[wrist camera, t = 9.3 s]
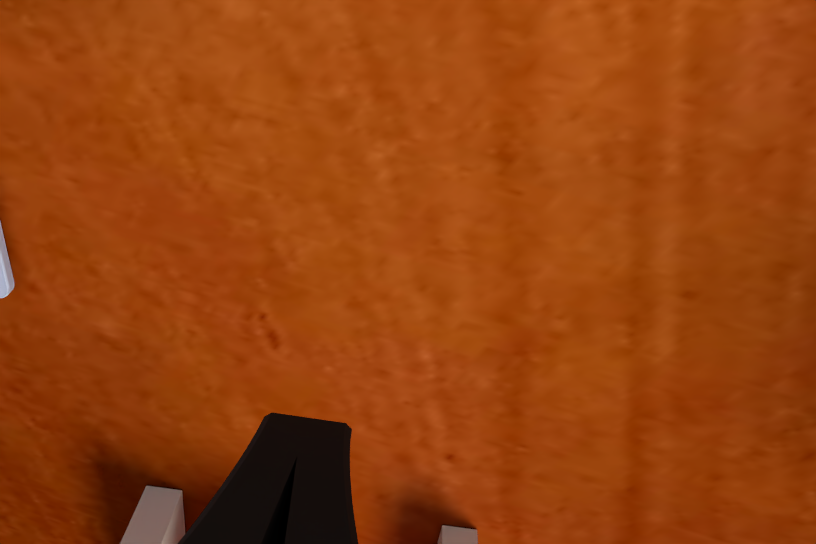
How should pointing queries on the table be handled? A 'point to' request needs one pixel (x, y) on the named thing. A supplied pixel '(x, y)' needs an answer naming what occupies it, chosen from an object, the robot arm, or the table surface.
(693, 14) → the table surface
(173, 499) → the holder
